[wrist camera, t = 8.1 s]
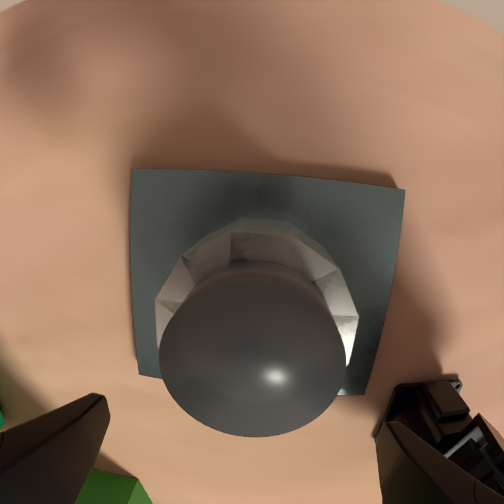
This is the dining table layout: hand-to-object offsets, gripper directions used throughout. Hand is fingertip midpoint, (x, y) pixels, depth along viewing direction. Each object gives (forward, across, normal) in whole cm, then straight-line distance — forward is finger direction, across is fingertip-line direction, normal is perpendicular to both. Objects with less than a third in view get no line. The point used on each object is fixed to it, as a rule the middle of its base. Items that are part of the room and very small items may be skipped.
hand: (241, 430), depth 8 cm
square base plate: (+12, 0, 0) cm, 12 cm away
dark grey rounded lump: (+8, 0, 0) cm, 9 cm away
